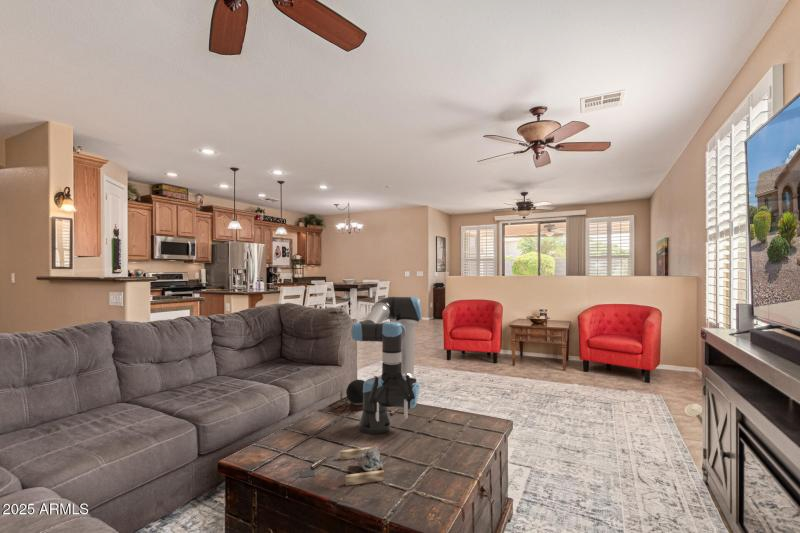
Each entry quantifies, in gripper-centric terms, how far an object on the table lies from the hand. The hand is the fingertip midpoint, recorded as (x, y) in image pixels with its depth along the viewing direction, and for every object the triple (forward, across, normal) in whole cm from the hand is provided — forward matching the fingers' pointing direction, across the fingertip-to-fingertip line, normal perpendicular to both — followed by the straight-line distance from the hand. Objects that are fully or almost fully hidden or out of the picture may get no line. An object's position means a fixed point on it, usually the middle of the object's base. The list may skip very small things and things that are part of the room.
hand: (391, 418), depth 149 cm
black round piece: (+18, +4, -63) cm, 66 cm away
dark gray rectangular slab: (+18, +32, -1) cm, 37 cm away
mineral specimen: (+18, +9, 0) cm, 20 cm away
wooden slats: (+18, +12, 0) cm, 22 cm away
